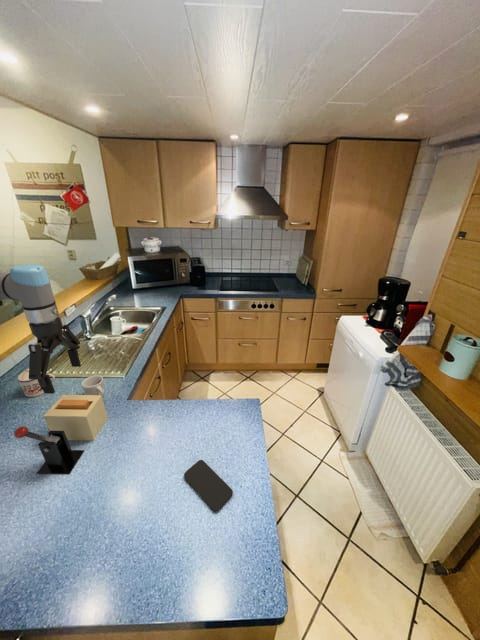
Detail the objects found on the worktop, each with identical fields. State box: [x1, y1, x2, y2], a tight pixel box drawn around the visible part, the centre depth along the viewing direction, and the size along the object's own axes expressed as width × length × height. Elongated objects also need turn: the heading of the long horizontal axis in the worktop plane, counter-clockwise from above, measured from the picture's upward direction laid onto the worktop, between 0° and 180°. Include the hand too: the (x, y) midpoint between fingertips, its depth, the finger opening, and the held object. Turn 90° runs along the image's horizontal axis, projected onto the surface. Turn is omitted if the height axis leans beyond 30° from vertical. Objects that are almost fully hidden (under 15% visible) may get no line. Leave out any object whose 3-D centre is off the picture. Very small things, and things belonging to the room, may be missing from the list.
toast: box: [58, 400, 90, 410], centre depth 88 cm, size 9×2×11 cm, turn 90°
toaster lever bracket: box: [35, 430, 85, 475], centre depth 77 cm, size 10×8×12 cm
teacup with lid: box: [17, 367, 56, 398], centre depth 108 cm, size 12×9×12 cm
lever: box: [13, 425, 61, 445], centre depth 74 cm, size 12×3×3 cm, turn 91°
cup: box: [81, 374, 106, 398], centre depth 105 cm, size 11×8×8 cm
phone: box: [183, 459, 234, 513], centre depth 74 cm, size 7×1×15 cm
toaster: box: [43, 394, 109, 441], centre depth 89 cm, size 14×10×12 cm
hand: (64, 378), depth 81 cm, fingers open, 13 cm apart
